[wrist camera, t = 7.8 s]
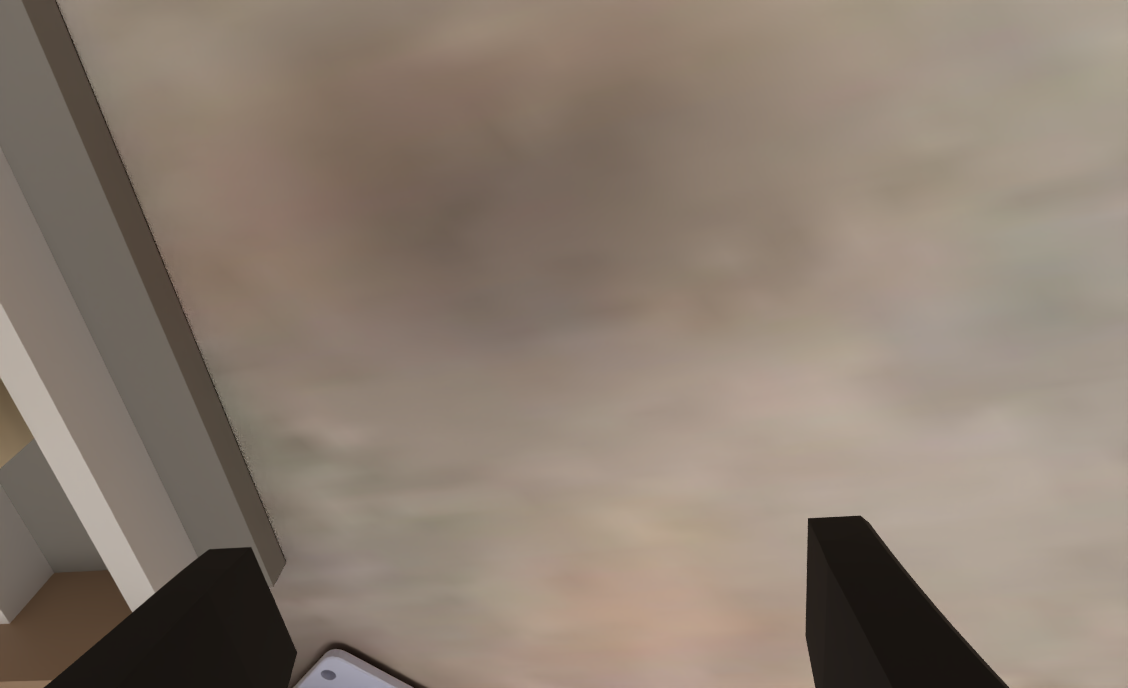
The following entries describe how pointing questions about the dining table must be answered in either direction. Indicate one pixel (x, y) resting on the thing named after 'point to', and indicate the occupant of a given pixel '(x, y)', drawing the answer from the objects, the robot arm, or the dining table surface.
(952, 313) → the dining table surface
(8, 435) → the door panel
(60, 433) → the track board
